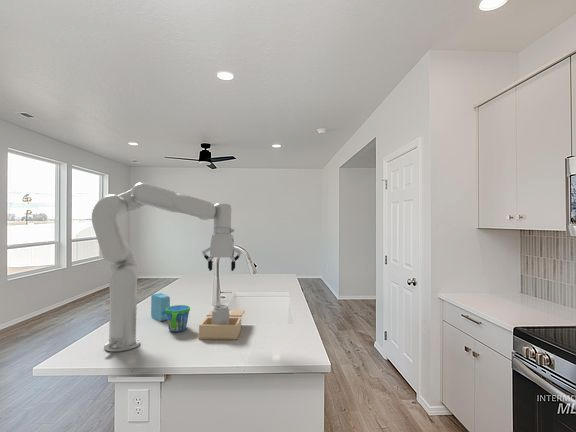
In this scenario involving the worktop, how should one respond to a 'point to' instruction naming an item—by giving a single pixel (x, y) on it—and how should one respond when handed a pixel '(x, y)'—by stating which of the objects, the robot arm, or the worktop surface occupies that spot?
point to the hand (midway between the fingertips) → (221, 270)
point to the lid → (231, 313)
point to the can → (220, 315)
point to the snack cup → (177, 317)
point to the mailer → (220, 329)
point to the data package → (159, 306)
